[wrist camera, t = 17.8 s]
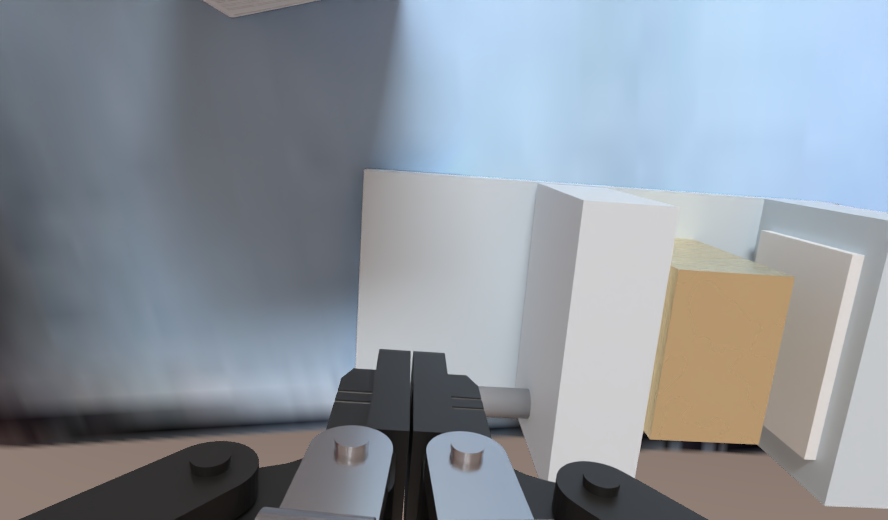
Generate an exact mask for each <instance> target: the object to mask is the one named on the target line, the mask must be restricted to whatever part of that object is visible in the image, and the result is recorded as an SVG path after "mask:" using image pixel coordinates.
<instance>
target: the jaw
mask: <svg viewBox="0 0 888 520" xmlns="http://www.w3.org/2000/svg"><path fill="white" fill-rule="evenodd" d="M679 209H680V207H677V206H674V205H670V204H666V203H662V202H658V201H655V200H651V199H647V198H643V197H640V196H636V195H632V194H628V193H624V192H621V191H617V190H613V189H609V188H602V187H589V186H575V185H561V184H547V183H538V184H537V193H536V202H535V211H534V220H533V230H532V239H531V248H530V257H529V266H528V275H527V284H526V294H525V303H524V312H523V321H522V330H521V339H520V348H519V358H518V367H517V376H516V385H515V388H506V387H486V386H478V387H479V391H480V395H481V401H482V403H483V407H484V411H485V414H486V417H502V418H518V420H519V423H520V426H521V429H522V431H523V434H524V437H525V440H526V443H527V446H528V449H529V452H530V455H531V457H532V461H533V464H534V467H535V469H536V472H537V475H538V478H539V479H543V480H547V481H551V482H556V475H557V472H558V470H559V469H560V468H561V467H563V466H564V465H566V464H568V463H572V462H577V461H590V462H597V463H602V464H605V465H609V466H611V467H614V468H616V469H619V470H621V471H623V472H624V473H626V474H628V475H630V476H631V477H633V478H635V474H636V469H637V463H638V456H639V453H640V447H641V441H642V435H643V429H644V423H645V417H646V411H647V404H648V398H649V392H650V386H651V380H652V374H653V368H654V362H655V356H656V350H657V344H658V338H659V332H660V326H661V320H662V314H663V308H664V302H665V296H666V290H667V284H668V278H669V272H670V266H671V260H672V254H673V248H674V239H675V233H676V227H677V221H678V215H679Z"/></svg>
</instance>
